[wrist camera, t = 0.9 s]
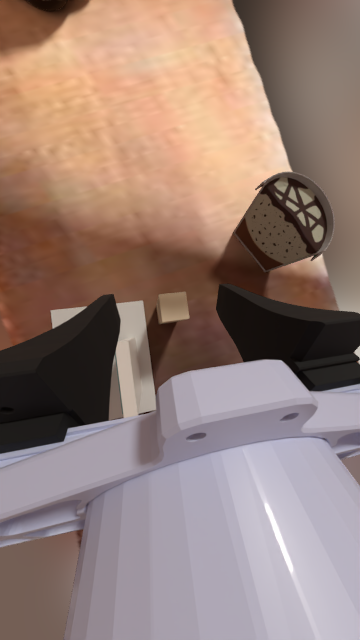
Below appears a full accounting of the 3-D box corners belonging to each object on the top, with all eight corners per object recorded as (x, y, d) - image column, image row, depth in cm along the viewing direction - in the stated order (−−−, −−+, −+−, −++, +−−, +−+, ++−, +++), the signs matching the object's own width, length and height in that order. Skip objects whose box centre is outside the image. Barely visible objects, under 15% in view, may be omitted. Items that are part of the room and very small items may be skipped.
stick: (176, 321, 27) (189, 318, 18) (158, 324, 26) (162, 322, 18) (174, 303, 27) (185, 291, 18) (156, 305, 27) (158, 294, 18)
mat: (156, 408, 26) (156, 409, 25) (65, 428, 23) (64, 430, 23) (142, 301, 26) (142, 300, 26) (52, 310, 24) (50, 310, 24)
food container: (290, 258, 31) (354, 226, 22) (270, 278, 30) (326, 254, 21) (250, 207, 31) (296, 149, 21) (227, 226, 30) (265, 174, 20)
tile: (142, 389, 25) (137, 416, 17) (131, 391, 25) (122, 420, 17) (135, 337, 25) (128, 340, 17) (124, 338, 25) (112, 343, 17)
